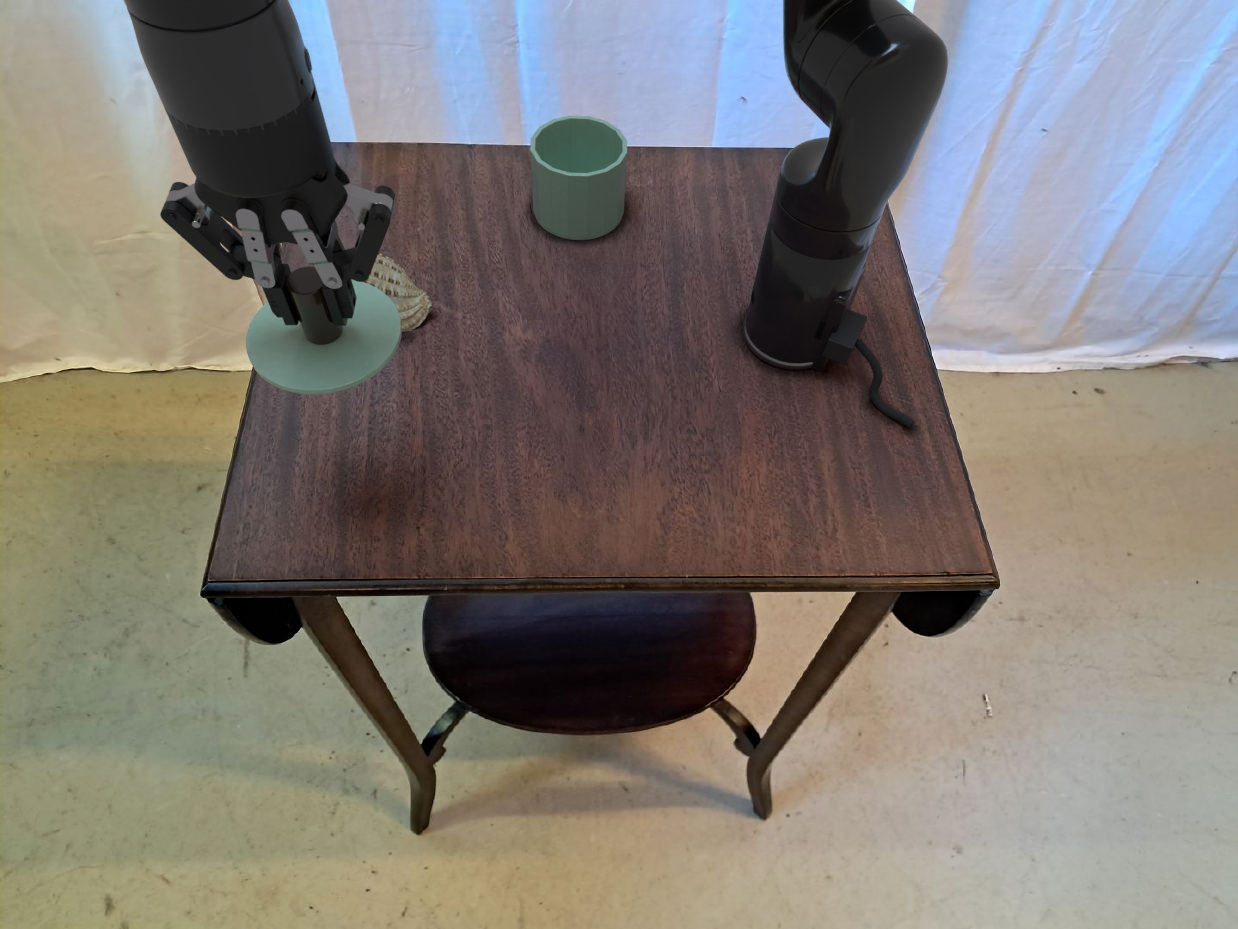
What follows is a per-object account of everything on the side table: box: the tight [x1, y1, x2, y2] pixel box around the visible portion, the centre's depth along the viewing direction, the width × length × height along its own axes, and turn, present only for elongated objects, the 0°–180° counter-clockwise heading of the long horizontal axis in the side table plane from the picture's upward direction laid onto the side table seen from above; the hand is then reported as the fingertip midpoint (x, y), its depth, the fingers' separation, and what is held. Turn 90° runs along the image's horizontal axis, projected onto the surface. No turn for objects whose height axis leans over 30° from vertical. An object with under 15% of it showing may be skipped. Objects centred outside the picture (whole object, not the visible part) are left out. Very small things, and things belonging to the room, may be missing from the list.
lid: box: [245, 265, 403, 396], centre depth 59 cm, size 10×10×6 cm
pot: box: [529, 115, 628, 241], centre depth 95 cm, size 10×10×8 cm
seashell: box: [352, 252, 434, 333], centre depth 87 cm, size 8×6×10 cm
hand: (319, 315), depth 59 cm, fingers closed on lid, 2 cm apart
